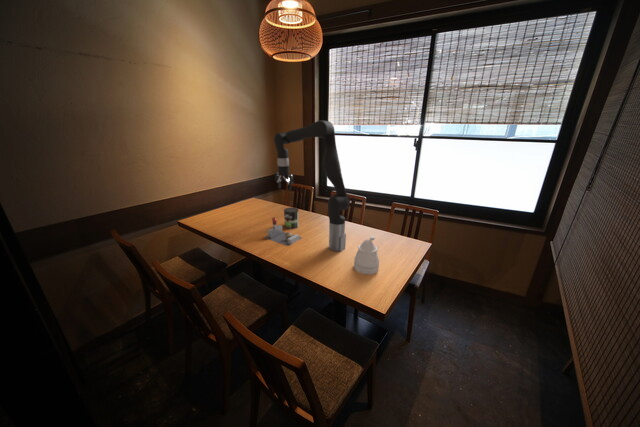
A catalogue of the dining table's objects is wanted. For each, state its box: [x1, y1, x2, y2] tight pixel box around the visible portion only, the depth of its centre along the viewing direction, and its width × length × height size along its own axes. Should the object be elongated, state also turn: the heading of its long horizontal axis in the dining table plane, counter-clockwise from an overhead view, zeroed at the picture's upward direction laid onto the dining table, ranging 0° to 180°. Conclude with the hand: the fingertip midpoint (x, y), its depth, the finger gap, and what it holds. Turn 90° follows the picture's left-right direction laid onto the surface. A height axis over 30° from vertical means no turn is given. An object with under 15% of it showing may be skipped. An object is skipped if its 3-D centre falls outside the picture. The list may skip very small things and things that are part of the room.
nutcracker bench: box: [263, 231, 302, 247], centre depth 162 cm, size 21×14×4 cm, turn 56°
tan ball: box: [285, 231, 293, 238], centre depth 158 cm, size 4×4×4 cm
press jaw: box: [266, 217, 284, 238], centre depth 163 cm, size 3×11×12 cm, turn 146°
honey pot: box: [353, 235, 380, 275], centre depth 129 cm, size 13×13×18 cm
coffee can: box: [283, 206, 300, 230], centre depth 178 cm, size 10×10×14 cm
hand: (284, 188), depth 168 cm, fingers open, 8 cm apart
